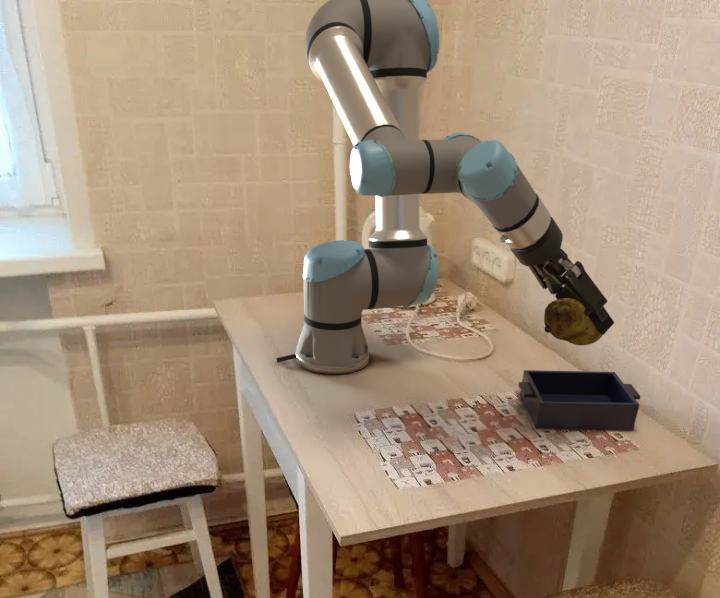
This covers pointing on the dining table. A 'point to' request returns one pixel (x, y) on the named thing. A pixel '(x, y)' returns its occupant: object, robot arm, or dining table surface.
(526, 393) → the pan handles
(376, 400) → the dining table surface
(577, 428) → the roasting pan
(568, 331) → the potato
